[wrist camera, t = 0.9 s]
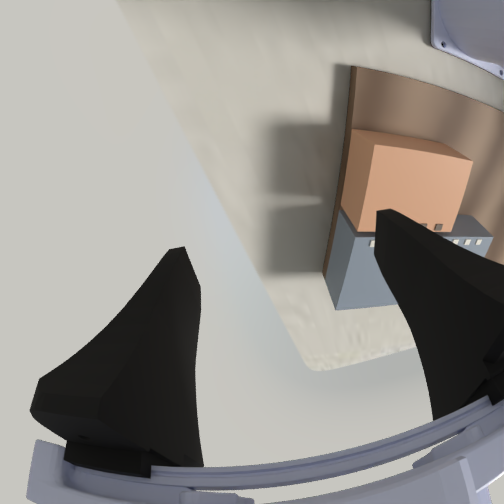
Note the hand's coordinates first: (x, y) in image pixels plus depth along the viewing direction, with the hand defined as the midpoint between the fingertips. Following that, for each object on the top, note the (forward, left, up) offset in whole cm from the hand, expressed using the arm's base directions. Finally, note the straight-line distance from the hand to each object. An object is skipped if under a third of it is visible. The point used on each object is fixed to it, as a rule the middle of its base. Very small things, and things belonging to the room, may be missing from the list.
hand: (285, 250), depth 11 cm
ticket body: (-13, +7, -9) cm, 17 cm away
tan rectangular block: (-10, 0, -9) cm, 13 cm away
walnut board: (-20, +2, -10) cm, 22 cm away
